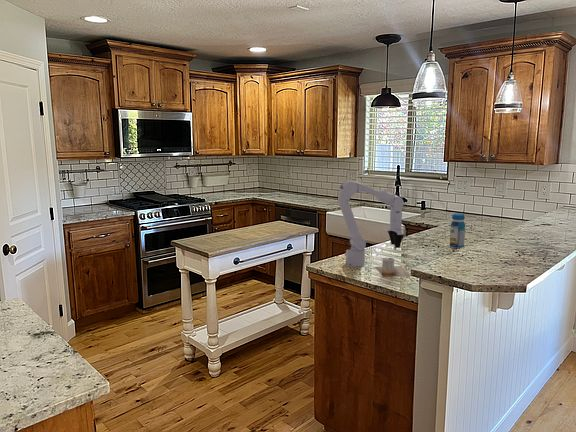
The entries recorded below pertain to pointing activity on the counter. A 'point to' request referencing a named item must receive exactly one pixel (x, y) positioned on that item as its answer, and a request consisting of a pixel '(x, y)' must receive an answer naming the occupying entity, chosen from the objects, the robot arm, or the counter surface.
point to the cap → (388, 264)
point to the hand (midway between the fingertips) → (395, 246)
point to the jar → (387, 272)
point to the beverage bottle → (457, 231)
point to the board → (397, 272)
